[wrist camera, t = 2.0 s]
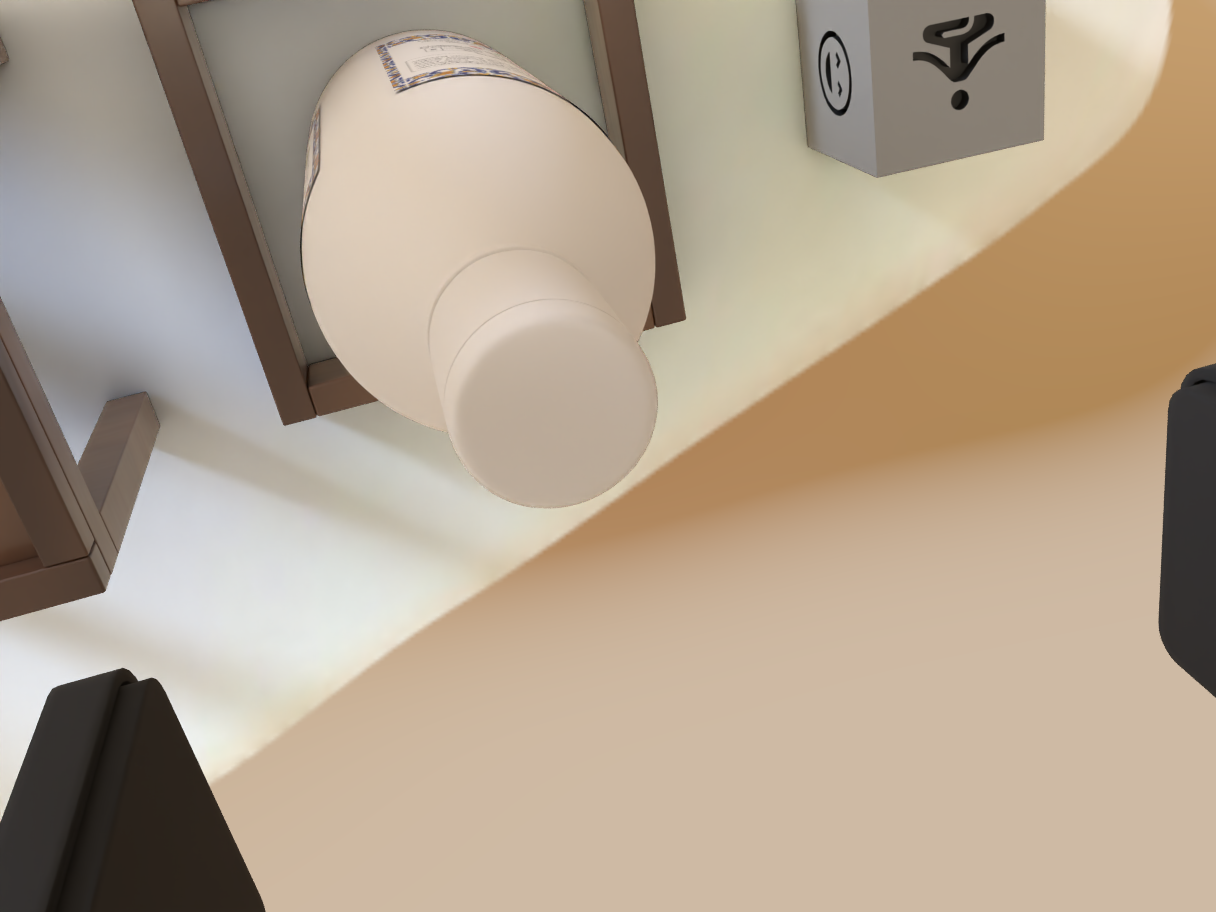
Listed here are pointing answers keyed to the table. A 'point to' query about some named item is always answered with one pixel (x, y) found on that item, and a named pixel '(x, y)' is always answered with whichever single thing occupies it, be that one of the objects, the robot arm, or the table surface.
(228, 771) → the table surface
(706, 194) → the table surface
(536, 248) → the bath foam
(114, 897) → the robot arm
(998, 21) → the dice cube
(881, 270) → the table surface
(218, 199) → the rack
